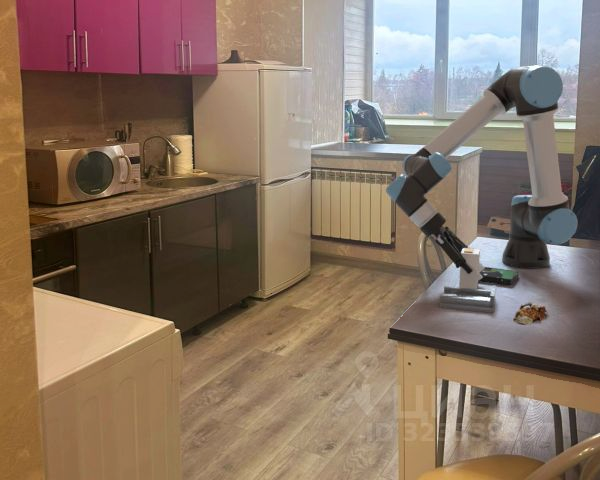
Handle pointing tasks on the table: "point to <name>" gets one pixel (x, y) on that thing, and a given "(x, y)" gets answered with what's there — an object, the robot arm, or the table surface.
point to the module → (473, 259)
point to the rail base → (468, 299)
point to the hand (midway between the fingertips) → (480, 275)
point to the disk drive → (498, 276)
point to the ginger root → (529, 313)
